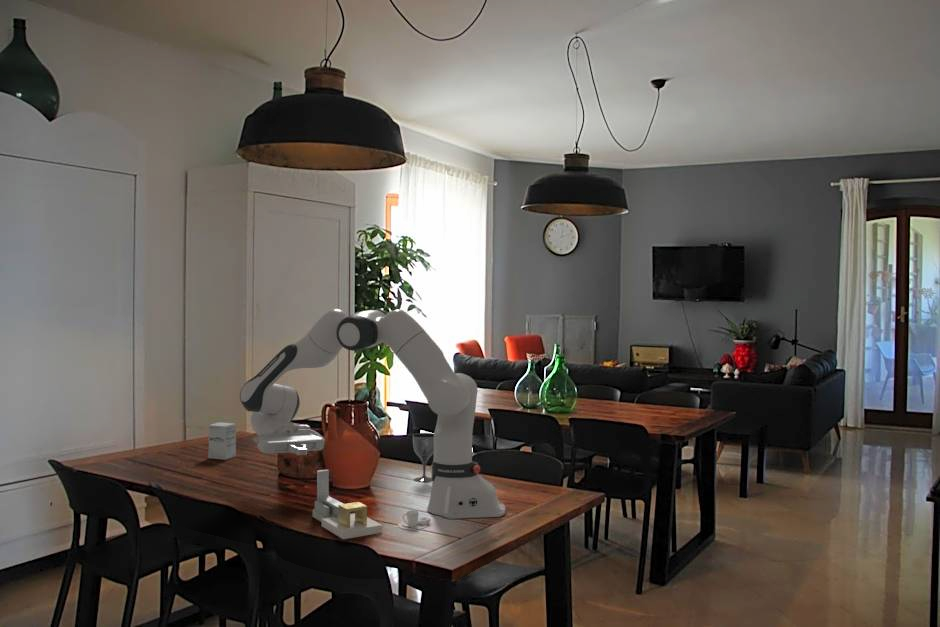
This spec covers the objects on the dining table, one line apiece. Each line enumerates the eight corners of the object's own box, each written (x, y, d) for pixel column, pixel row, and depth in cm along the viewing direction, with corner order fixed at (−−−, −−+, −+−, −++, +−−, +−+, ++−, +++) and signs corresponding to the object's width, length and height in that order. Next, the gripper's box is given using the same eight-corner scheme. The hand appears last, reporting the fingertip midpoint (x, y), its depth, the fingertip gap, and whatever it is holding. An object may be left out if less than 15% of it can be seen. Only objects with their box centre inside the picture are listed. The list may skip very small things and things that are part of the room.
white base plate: (321, 526, 213) (321, 518, 213) (358, 519, 219) (358, 512, 219) (343, 539, 201) (343, 531, 201) (382, 532, 208) (382, 524, 208)
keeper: (338, 522, 209) (338, 504, 209) (358, 519, 212) (358, 501, 212) (346, 527, 205) (346, 509, 205) (366, 524, 208) (367, 506, 208)
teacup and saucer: (430, 522, 219) (430, 507, 219) (430, 531, 211) (430, 516, 211) (398, 522, 218) (398, 507, 218) (396, 531, 210) (396, 515, 210)
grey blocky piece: (312, 516, 221) (312, 501, 221) (335, 513, 225) (335, 498, 225) (323, 523, 215) (323, 507, 215) (347, 519, 219) (347, 504, 219)
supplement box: (207, 458, 295) (207, 424, 295) (219, 455, 302) (219, 421, 302) (225, 460, 293) (225, 426, 293) (236, 456, 300) (236, 423, 300)
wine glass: (408, 481, 264) (409, 436, 264) (417, 476, 272) (417, 432, 272) (431, 483, 262) (431, 437, 262) (439, 478, 270) (439, 433, 269)
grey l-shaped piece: (316, 506, 224) (317, 470, 223) (326, 504, 225) (327, 469, 225) (340, 519, 211) (340, 481, 211) (350, 517, 213) (350, 480, 213)
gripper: (252, 427, 237) (272, 444, 227) (312, 424, 251) (334, 440, 241) (248, 447, 238) (268, 465, 228) (309, 443, 252) (331, 460, 241)
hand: (303, 452), depth 234 cm, fingers closed
